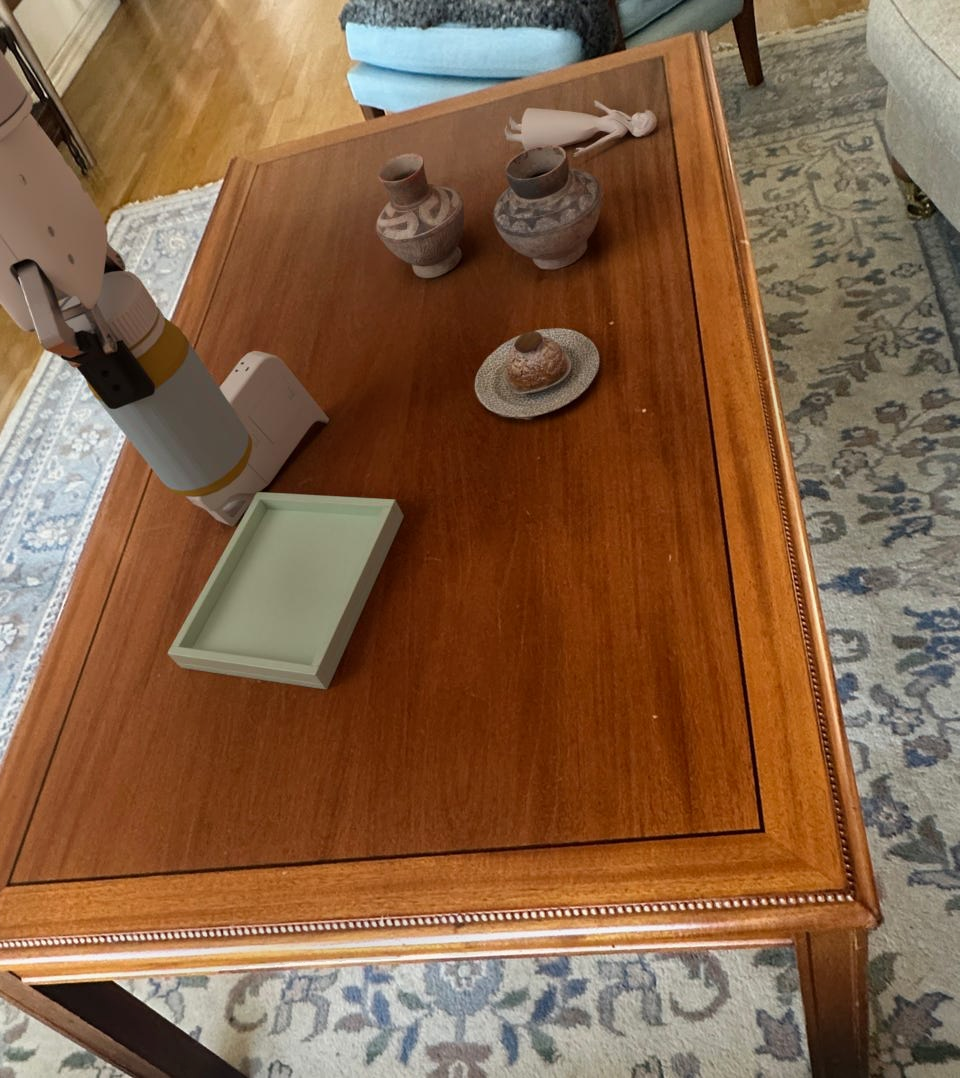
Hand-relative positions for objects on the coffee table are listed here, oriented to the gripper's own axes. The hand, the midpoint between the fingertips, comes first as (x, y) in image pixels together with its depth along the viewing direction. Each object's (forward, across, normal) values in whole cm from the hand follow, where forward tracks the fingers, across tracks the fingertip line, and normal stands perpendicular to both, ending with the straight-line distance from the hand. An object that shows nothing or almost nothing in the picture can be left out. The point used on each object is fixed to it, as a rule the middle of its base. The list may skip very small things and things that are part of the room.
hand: (135, 361), depth 64 cm
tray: (+27, -1, -1) cm, 27 cm away
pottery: (+27, -38, +26) cm, 53 cm away
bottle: (+10, 0, 0) cm, 10 cm away
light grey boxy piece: (+27, -17, -2) cm, 32 cm away
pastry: (+27, -16, +25) cm, 40 cm away
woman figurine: (+27, -55, +40) cm, 73 cm away
